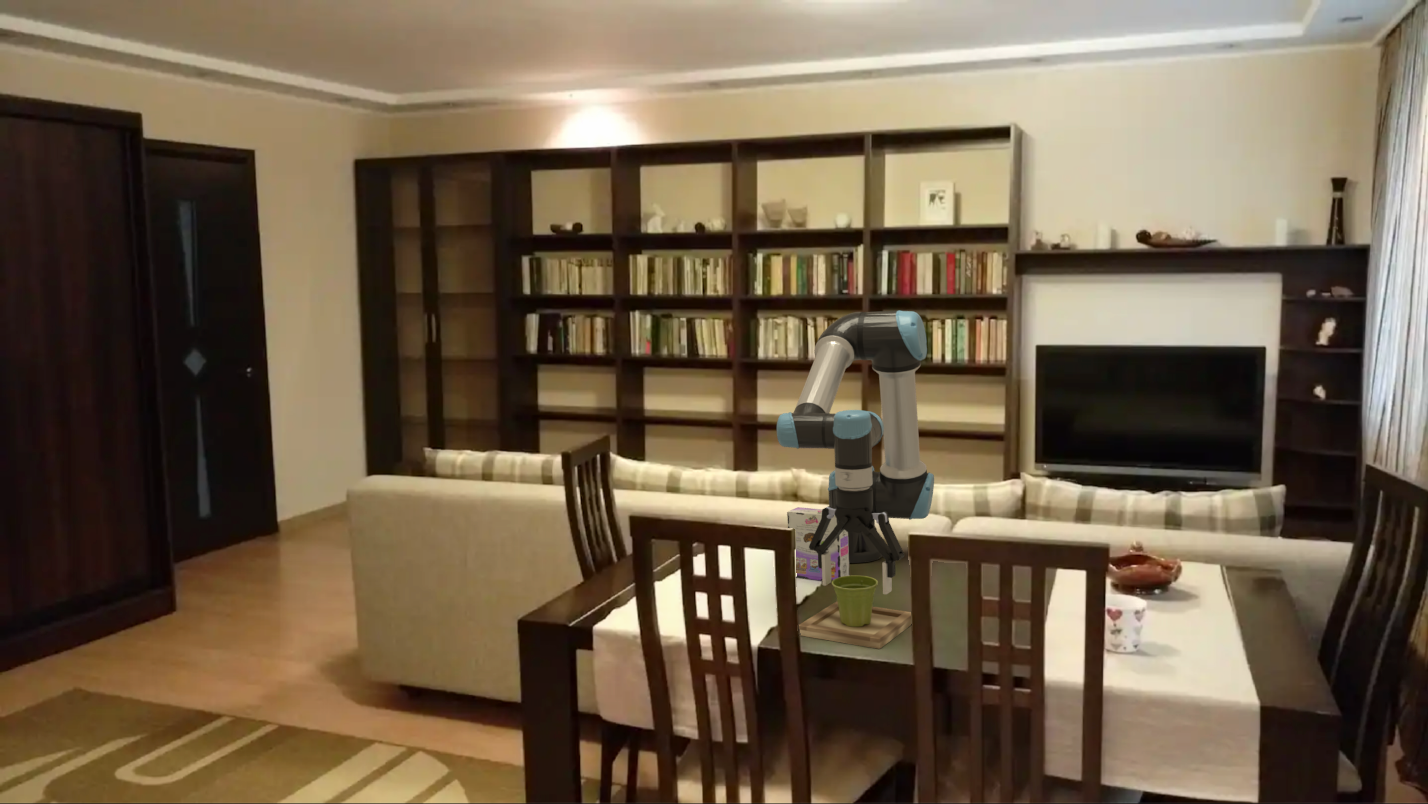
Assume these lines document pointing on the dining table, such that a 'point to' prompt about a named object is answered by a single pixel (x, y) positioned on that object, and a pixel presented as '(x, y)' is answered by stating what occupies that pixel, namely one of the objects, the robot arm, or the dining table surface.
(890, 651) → the dining table surface
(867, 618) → the plant pot
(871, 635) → the wooden tray
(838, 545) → the candy box
